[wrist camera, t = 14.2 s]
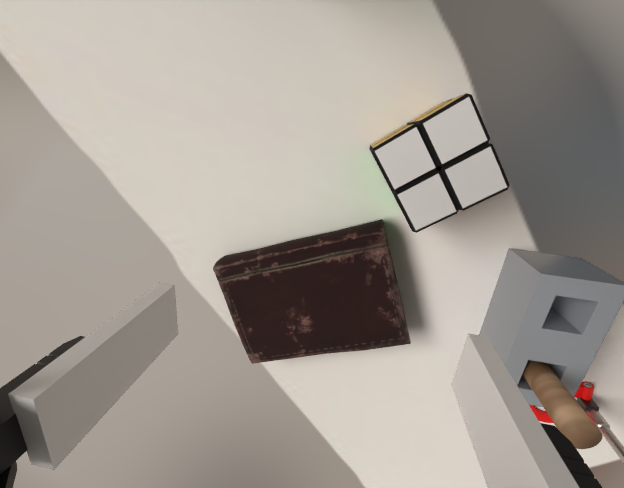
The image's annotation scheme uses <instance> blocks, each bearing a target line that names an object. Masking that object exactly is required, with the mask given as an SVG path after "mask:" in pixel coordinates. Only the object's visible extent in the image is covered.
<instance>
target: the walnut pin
mask: <svg viewBox="0 0 624 488" xmlns="http://www.w3.org/2000/svg"><path fill="white" fill-rule="evenodd" d="M522 375H523V376H524V378H525V379H526V381H527V383H528V384H529V386H530V387H531V389H532V390H533V392H534V393H535V395H536V396H537V398H538V399H539V401H540V402H541V404H542V405H543V407H544V409H545V410H546V412H547V413H548V415H549V416H550V418H551V419H552V421H553V422H554V424H555V425H556V427H557V428H558V430H559V431H560V432H561V433H562V434H563V435H565V436H566V437H567V438H568V439H569V440H570V441H571V442H572V444H573V445H574V447H575V448H578V449H587V448H591V447H594V446H596V445H597V444H598V443H599V442H600V441H601V439H602V433H601V431H600V430H599V429H598V428H597V426H596V425H595V424H594V422H593V421H592V420H591V419H590V417H589V416H588V415H587V414H586V412H585V411H584V410H583V409H582V407H581V406H580V405H579V403H578V402H577V401H576V400H575V398H574V397H573V396H572V395H571V393H570V392H569V391H568V390H567V388H566V387H565V386H564V384H563V383H562V382H561V381H560V379H559V378H558V377H557V376H556V374H555V373H554V372H553V371H552V369H551V368H550V367H549V366H548V364H547V363H544V362H538V361H532V360H528V362H527V364H526V366H525V369H524V371H523V374H522Z"/></svg>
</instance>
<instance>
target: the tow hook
mask: <svg viewBox="0 0 624 488" xmlns="http://www.w3.org/2000/svg"><path fill="white" fill-rule="evenodd" d="M593 390H594V386H593V385H592V384H591V383H588V382H582V384H580V386H579V388H578V390H577V392H576V394H575V396H574V397H578V398H577V402H578V403H579V405H580V406H581V407H582V409H583V410H584V411H585V412H586V414H587V415H588V416H589V417H590V419H591V420H592V421H593V422H594V424H595V425H596V426H597V428H598V429H599V430H600V431H601V433H602V435H603V436H604V437H605V439H606V440H607V441H608V443H609V444H610V445H611V447H612V448H613V449H614V451H615V452H616V453H617V455H618V456H619V457H620V459H621V460H622V461H623V463H624V446H623V445H622V444H621V443H620V441H619V440H618V439H617V437H616V436H615V435H614V434H613V432H612V431H611V430H610V426H609V424H608V423H607V422H606V420H605V419H604V418H603V417H602V415H601V414H600V413H599V407H598V406H597V404H596V403H595V402H594V401H593V399H592V394H593ZM529 406H530V408H531V409H532V411H533V413H534V414H535V416H536V417H537V419H538V421H542V422H547V423H554V422H553V421H552V419H551V418H550V416H549V415H548V413H547V412H544V411H541V410H538V409H537V408H535V407H534V406H533V405H529Z"/></svg>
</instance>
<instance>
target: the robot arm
mask: <svg viewBox="0 0 624 488" xmlns="http://www.w3.org/2000/svg"><path fill="white" fill-rule="evenodd" d="M177 335H178V326H177V311H176V297H175V286H174V285H171V284H166V283H160V282H159V283H158V284H157V285H155V286H154V287H152V288H151V289H150V290H148V291H147V292H146V293H144V294H143V295H142V296H141V297H139V298H138V299H136V300H135V301H134V302H132V303H131V304H129V305H128V306H127V307H125V308H124V309H123V310H121V311H120V312H119V313H117V314H116V315H115V316H113V317H112V318H110V319H109V320H108V321H107V322H105V323H104V324H102V325H101V326H100V327H98V328H97V329H96V330H94V331H93V332H92V333H90V334H89V335H88V336H86V337H83V336H79V337H77V338H75V339H73V340H71V341H68V342H66V343H64V344H62V345H61V346H60V347H58V348H57V349H55V350H54V351H52V352H51V353H50V354H49V356H45V357H44V358H42V359H41V360H40V361H38V362H37V364H36V365H35V364H34V365H33V366H31V367H30V368H28V369H27V370H25V371H24V372H23V373H21V374H20V375H19V376H17V377H16V378H14V379H13V380H11V381H10V382H9V383H7V384H6V385H4V386H3V387H1V388H0V488H13V484H14V479H15V476H16V472H17V463H16V460H17V459H18V458H19V457H20V456H21V455H22V454H23V453H24V452H26V451H27V453H28V456H29V459H30V462H31V464H32V465H37V466H41V467H45V468H49V469H53V470H54V469H55V468H56V467H57V466H58V465H59V464H60V463H61V462H62V461H63V460H64V458H65V457H66V456H67V455H68V454H69V453H70V452H71V451H72V450H73V449H74V447H75V446H76V445H77V444H78V443H79V442H80V441H81V440H82V439H83V438H84V437H85V435H86V434H87V433H88V432H89V431H90V430H91V429H92V428H93V427H94V426H95V425H96V423H97V422H98V421H99V420H100V419H101V418H102V417H103V416H104V415H105V414H106V413H107V411H108V410H109V409H110V408H111V407H112V406H113V405H114V404H115V402H117V400H118V399H119V398H120V397H121V396H122V395H123V394H124V393H125V392H126V391H127V390H128V388H129V387H130V386H131V385H132V384H133V383H134V382H135V381H136V380H137V379H138V377H139V376H140V375H141V374H142V373H143V372H144V371H145V370H146V369H147V367H149V365H150V364H151V363H152V362H153V361H154V360H155V359H156V358H157V357H158V356H159V354H160V353H161V352H162V351H163V350H164V349H165V348H166V347H167V346H168V345H169V344H170V342H171V341H172V340H173V339H174V338H175V337H176V336H177ZM451 385H452V387H453V390H454V393H455V396H456V399H457V402H458V404H459V407H460V410H461V413H462V416H463V419H464V421H465V424H466V427H467V430H468V433H469V436H470V438H471V441H472V444H473V447H474V450H475V453H476V455H477V458H478V461H479V464H480V467H481V470H482V472H483V475H484V478H485V481H486V484H487V487H488V488H602V487H601V485H600V484H599V482H598V481H597V479H594V475H593V473H592V472H591V470H590V469H589V467H588V466H587V464H584V460H583V458H582V457H581V455H580V454H579V452H578V451H577V449H576V448H575V447H574V445H573V444H572V442H571V441H570V440H569V439H568V438H567V437H566V436H565V435H563V434H562V433H561V432H560V431H559V430H558V429H557V428H556V427H555V426H552V425H547V424H542V423H540V422H539V421H538V419H537V417H536V416H535V414H534V413H533V411H532V409H531V408H530V406H529V404H528V403H527V401H526V399H525V398H524V396H523V395H522V393H521V391H520V390H519V388H518V386H517V385H516V383H515V381H514V380H513V378H512V377H511V375H510V373H509V372H508V370H507V368H506V367H505V365H504V363H503V362H502V360H501V358H500V357H499V355H498V354H497V352H496V350H495V349H494V347H493V345H492V344H491V342H490V340H489V339H488V337H486V336H480V335H474V334H468V335H467V338H466V341H465V344H464V347H463V350H462V354H461V357H460V360H459V363H458V366H457V369H456V372H455V375H454V378H453V381H452V384H451Z"/></svg>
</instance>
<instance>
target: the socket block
mask: <svg viewBox="0 0 624 488" xmlns="http://www.w3.org/2000/svg"><path fill="white" fill-rule="evenodd" d="M623 301H624V282H622V281H620V280H619V279H617V278H615V277H614V276H612V275H610V274H608V273H607V272H605V271H603V270H601V269H599V268H598V267H596V266H594V265H593V264H591V263H589V262H587V261H586V260H584V259H582V258H577V257H570V256H562V255H554V254H547V253H540V252H532V251H525V250H518V249H510V248H509V250H508V253H507V255H506V258H505V261H504V264H503V267H502V270H501V273H500V276H499V279H498V282H497V285H496V288H495V290H494V293H493V296H492V299H491V302H490V305H489V308H488V311H487V314H486V317H485V320H484V323H483V325H482V328H481V331H480V334H479V335H480V336H486V337H488V339H489V340H490V342H491V344H492V345H493V347H494V349H495V350H496V352H497V354H498V355H499V357H500V358H501V360H502V362H503V363H504V365H505V367H506V368H507V370H508V372H509V373H510V375H511V377H512V378H513V380H514V381H515V383H516V385H517V386H518V388H519V390H520V391H521V393H522V395H523V396H524V398H525V399H526V401H527V403H528V404H529V405H534V406H539V407H543V405H542V404H541V402H540V401H539V399H538V398H537V396H536V395H535V393H534V392H533V390H532V389H531V387H530V386H529V384H528V383H527V381H526V379H525V378H524V376H523V375H522V374H523V371H524V369H525V366H526V364H527V362H528V360H532V361H538V362H544V363H547V364H548V366H549V367H550V368H551V369H552V371H553V372H554V373H555V374H556V376H557V377H558V378H559V379H560V381H561V382H562V383H563V384H564V386H565V387H566V388H567V390H568V391H569V392H570V393H571V395H572V396H573V397H574V396H575V394H576V392H577V390H578V388H579V386H580V384H581V382H582V380H583V378H584V376H585V374H586V373H587V371H588V369H589V367H590V365H591V363H592V361H593V359H594V357H595V355H596V353H597V351H598V349H599V347H600V345H601V344H602V342H603V340H604V338H605V336H606V334H607V332H608V330H609V328H610V326H611V324H612V322H613V320H614V318H615V316H616V315H617V313H618V311H619V309H620V307H621V305H622V303H623Z"/></svg>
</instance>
